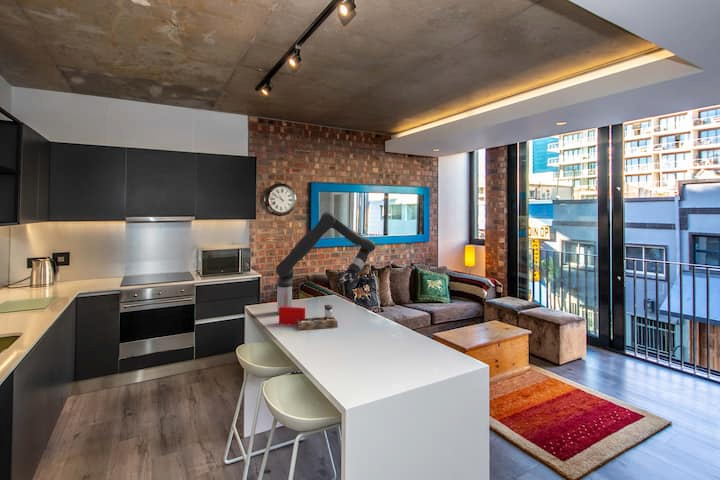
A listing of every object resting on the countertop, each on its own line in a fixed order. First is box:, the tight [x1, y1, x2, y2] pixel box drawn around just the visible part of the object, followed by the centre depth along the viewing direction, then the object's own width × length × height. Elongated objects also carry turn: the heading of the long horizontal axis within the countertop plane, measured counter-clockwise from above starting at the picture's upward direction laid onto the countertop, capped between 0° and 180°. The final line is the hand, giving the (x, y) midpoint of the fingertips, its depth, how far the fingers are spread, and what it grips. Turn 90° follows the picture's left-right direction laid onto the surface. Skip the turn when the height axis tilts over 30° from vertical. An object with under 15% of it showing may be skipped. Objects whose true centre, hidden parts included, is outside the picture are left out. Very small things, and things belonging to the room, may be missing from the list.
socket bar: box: [296, 315, 339, 331], centre depth 215 cm, size 22×10×4 cm, turn 109°
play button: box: [278, 306, 306, 326], centre depth 218 cm, size 15×3×10 cm, turn 82°
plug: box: [324, 304, 333, 320], centre depth 219 cm, size 5×5×11 cm
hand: (342, 287), depth 226 cm, fingers open, 8 cm apart
